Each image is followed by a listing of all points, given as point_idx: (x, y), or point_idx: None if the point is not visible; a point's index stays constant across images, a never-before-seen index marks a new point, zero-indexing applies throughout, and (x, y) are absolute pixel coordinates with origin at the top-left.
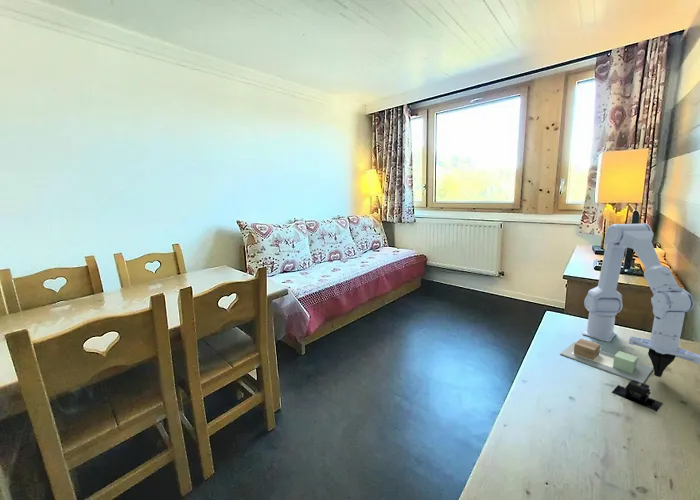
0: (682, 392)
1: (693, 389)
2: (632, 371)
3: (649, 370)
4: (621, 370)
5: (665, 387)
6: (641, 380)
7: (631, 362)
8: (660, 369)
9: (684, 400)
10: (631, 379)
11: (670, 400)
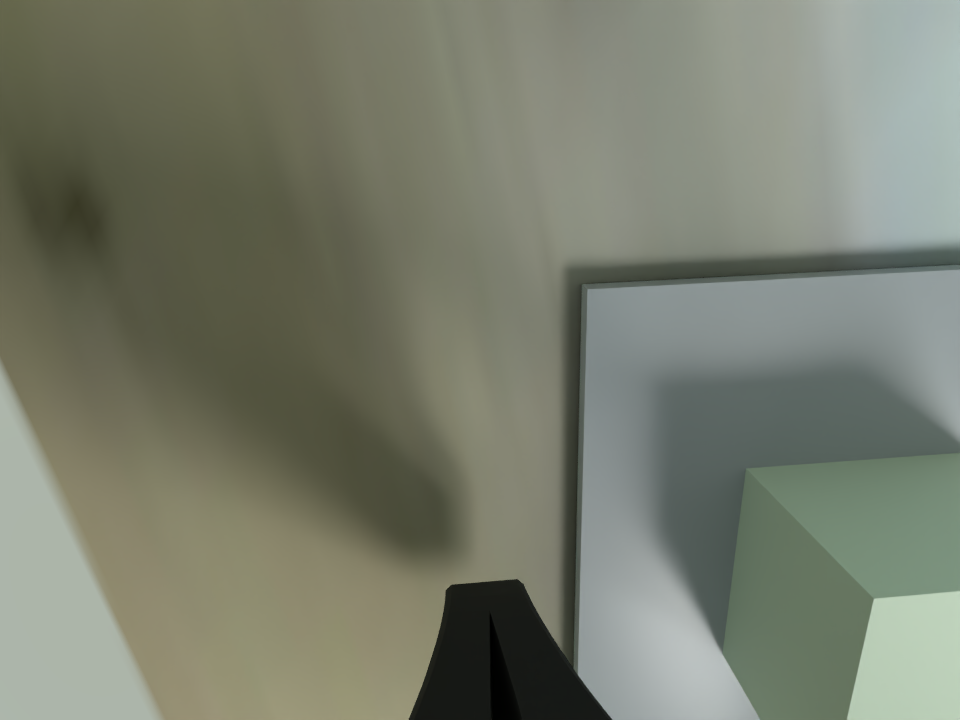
0: (185, 492)
1: (143, 662)
2: (756, 492)
3: None
4: (867, 430)
5: (357, 453)
6: (617, 360)
7: (895, 579)
8: (469, 687)
9: (81, 287)
10: (726, 282)
11: (188, 106)
